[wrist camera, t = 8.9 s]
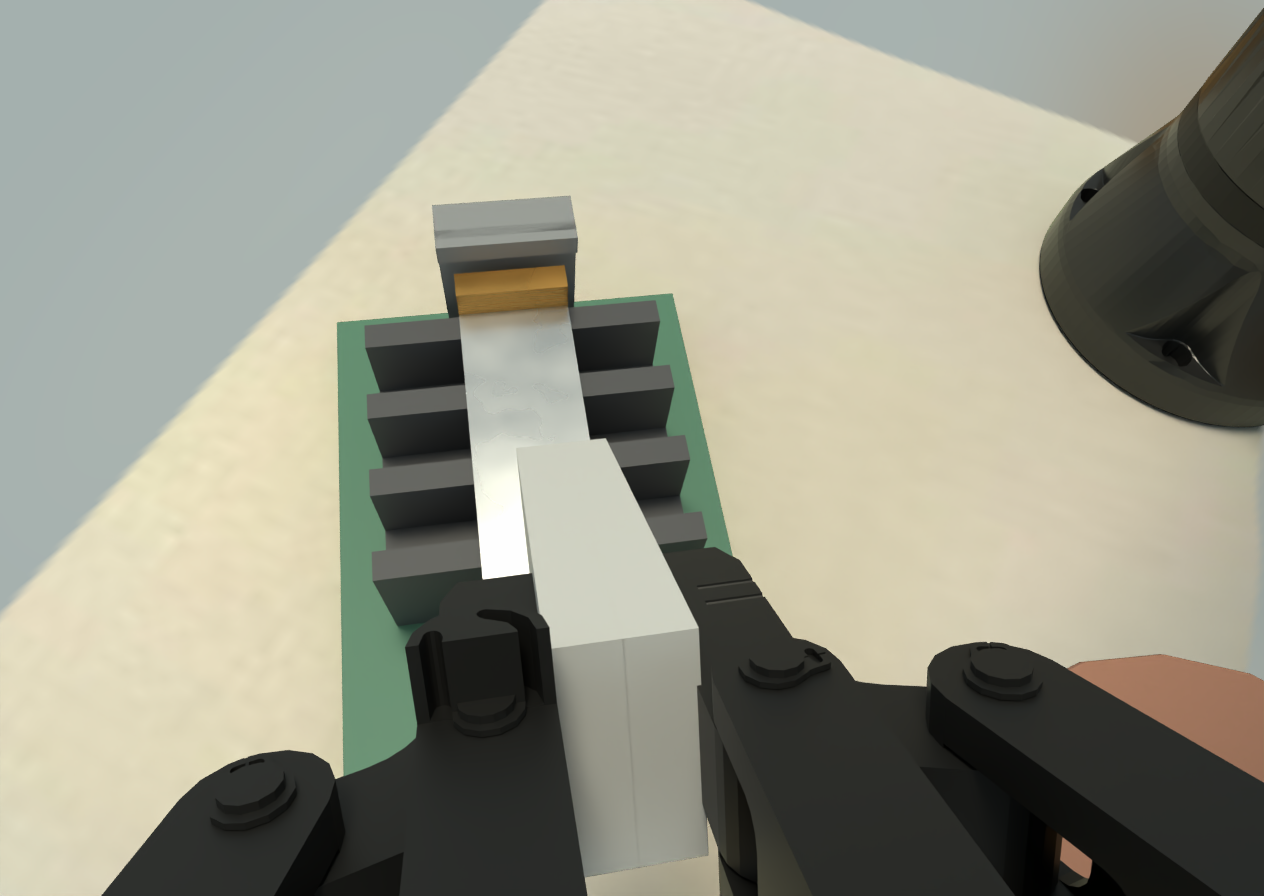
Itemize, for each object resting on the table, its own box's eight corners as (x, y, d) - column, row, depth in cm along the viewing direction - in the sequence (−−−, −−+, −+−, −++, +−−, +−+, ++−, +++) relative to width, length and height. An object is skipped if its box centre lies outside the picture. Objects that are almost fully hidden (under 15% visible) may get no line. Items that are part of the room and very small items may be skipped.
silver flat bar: (564, 303, 34) (564, 264, 32) (625, 677, 27) (630, 658, 25) (459, 311, 34) (453, 273, 32) (495, 697, 27) (490, 678, 25)
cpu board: (668, 313, 42) (696, 163, 34) (765, 745, 33) (836, 687, 25) (344, 342, 40) (287, 189, 32) (353, 812, 31) (277, 774, 22)
